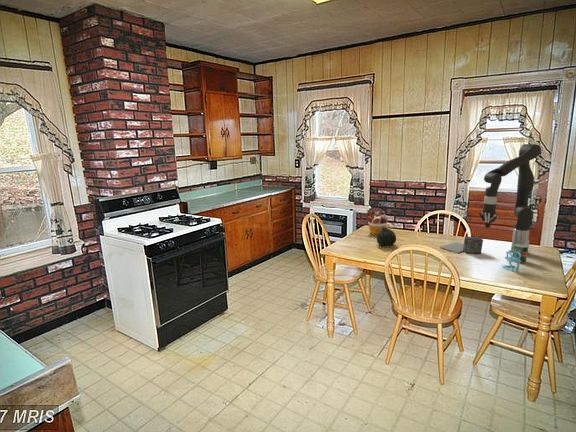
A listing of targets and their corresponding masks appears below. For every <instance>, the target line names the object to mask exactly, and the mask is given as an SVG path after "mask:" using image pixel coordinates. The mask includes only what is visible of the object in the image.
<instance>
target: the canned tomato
mask: <svg viewBox="0 0 576 432" xmlns="http://www.w3.org/2000/svg"><path fill="white" fill-rule="evenodd" d="M513 250H514V251H518V252H520V254H521V257H520V256H519V254H518V253H517V254H516V257H517V258H518V259H519V257H520V260H522V261H521V262H520V264H526V263H527V259H528V258H527V257H528V253H527V251H528V252H529V247H528V246H527V245H525V244H514V248H513ZM512 255H513V256H512V257H514V255H515V253H512ZM515 263H516V264H517V263H518V262H515Z"/></svg>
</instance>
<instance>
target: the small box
mask: <svg viewBox="0 0 576 432" xmlns="http://www.w3.org/2000/svg"><path fill="white" fill-rule="evenodd" d="M483 242H484V239H483V238H481V237H480V236H478V237H477V236H465V237H464V242H463V244H464V246H463V250H464V252H463V253H465V254H477V255H481V254H482V249H483Z"/></svg>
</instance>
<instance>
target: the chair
mask: <svg viewBox="0 0 576 432" xmlns="http://www.w3.org/2000/svg"><path fill="white" fill-rule="evenodd" d="M505 253H506V256H504V259H505V260H506V261H507V262H508V264H509V265H501V266H502V268H503V269H506V270H508V271H510V272H512V273H514V272H517V273H519V270H520V269H519V268H520V265H521V263H520V262H521V261H522V260H520V257H521V254H520V252H518V251H514V250H511V249H510V250H507V251H506V252H505ZM513 253H515V255H514V257H512V256H513ZM517 253H518V254H519V256H520V257H519V259H518V258H517V257H516V254H517ZM516 262H518V263H516ZM512 263H516V265H513V264H512Z"/></svg>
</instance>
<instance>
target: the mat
mask: <svg viewBox="0 0 576 432" xmlns="http://www.w3.org/2000/svg"><path fill="white" fill-rule="evenodd" d="M463 246H464V243H460V242H456V241H455V242H452V243H449V244H444V245H442V246H439V249H441V250H445V251H448V252H452V253H454V254H461V253H465V252H464V250H463Z"/></svg>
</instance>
